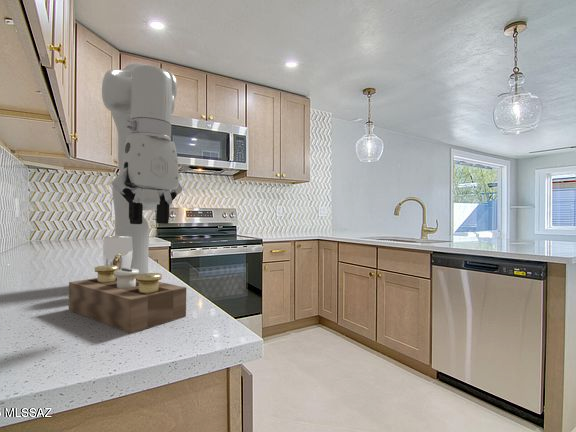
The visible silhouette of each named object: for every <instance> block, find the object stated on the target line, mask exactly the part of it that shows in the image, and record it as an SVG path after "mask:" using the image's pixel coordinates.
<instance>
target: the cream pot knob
mask: <svg viewBox="0 0 576 432" xmlns="http://www.w3.org/2000/svg"><path fill="white" fill-rule="evenodd" d="M138 274H139V270H138V269H127V268H121V270H116V271H114V276H117V288H118V289H124V288H129V287H134V286H136V275H138Z"/></svg>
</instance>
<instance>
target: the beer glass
mask: <svg viewBox="0 0 576 432" xmlns="http://www.w3.org/2000/svg"><path fill="white" fill-rule="evenodd" d="M132 255H133V246H132V236H115V235H108V236H104V237H103V245H102V260H103V266H105V265H117V266H119V270H121V268H127V269H130V268H131V263H132Z"/></svg>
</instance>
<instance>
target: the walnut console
mask: <svg viewBox="0 0 576 432" xmlns="http://www.w3.org/2000/svg"><path fill="white" fill-rule="evenodd" d="M68 310H69V311H71V312H74V313H75V314H79V315H81V316H85V317H87V318H89V319H92V320H95V321H97V322H100V323H103V324H105V325H108V326H110V327H112V328H116V329H118V330H121V331H123V332H126V333H128V334H133V333H137V332H140V331H143V330H146V329H149V328H153V327H156V326H160V325H162V324H165V323H166V324H167V323H169V322H172V321H176V320H178V319H182V318H184V317H187V287H186V286H181V285H176V284H172V283H171V284H170V283H168V282H161V281H159V285H158V292H156V293H151V294H147V295H142V294H139V281H136V286H134V287H129V288H124V289H118V288H117V276H116V281H114V282H108V283H102V284H99V283H98V277H95V278H89V279H88V278H87V279H81V280H76V281H69V282H68Z"/></svg>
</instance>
